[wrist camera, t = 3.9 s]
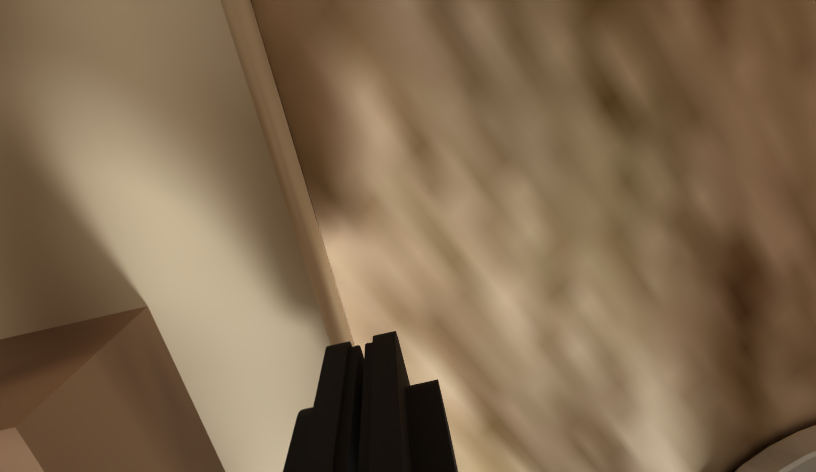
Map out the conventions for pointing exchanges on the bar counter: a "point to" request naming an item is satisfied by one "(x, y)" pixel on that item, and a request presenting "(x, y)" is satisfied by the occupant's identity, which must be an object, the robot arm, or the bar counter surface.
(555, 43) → the bar counter surface
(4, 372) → the walnut block
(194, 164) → the trap board
